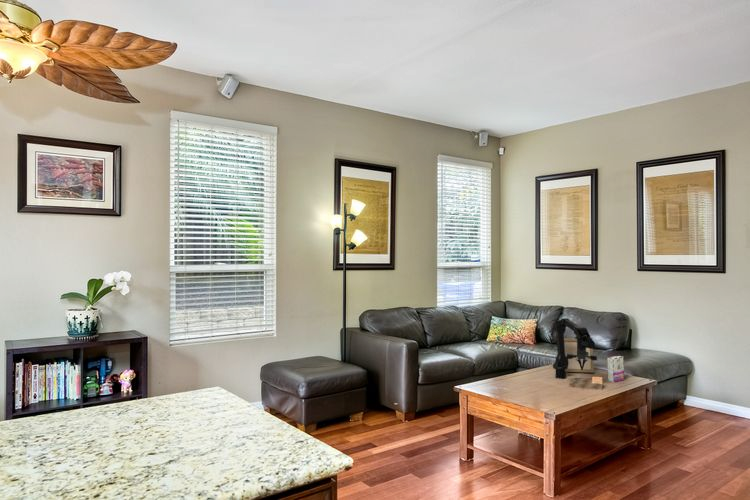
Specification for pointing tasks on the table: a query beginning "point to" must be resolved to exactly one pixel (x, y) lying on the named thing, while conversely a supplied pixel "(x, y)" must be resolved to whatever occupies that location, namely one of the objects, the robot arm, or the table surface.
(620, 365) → the candy bar box
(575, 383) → the chute
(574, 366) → the photo frame
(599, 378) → the block
